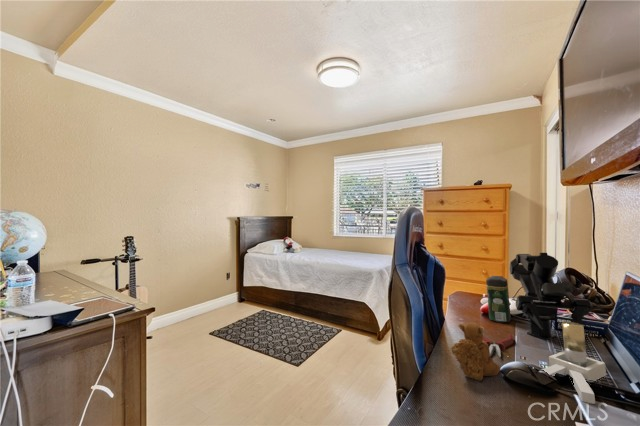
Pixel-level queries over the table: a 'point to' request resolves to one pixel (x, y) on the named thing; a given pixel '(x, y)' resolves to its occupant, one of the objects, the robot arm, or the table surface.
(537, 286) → the robot arm
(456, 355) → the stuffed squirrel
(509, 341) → the pliers
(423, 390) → the table surface
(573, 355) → the coupler
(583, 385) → the socket
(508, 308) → the coffee jar
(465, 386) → the table surface
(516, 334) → the table surface
